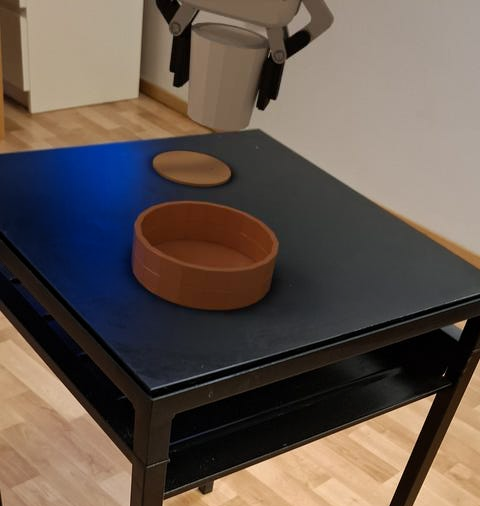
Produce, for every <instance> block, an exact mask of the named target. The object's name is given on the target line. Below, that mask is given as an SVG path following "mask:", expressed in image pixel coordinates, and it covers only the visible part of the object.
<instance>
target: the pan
mask: <svg viewBox="0 0 480 506" xmlns="http://www.w3.org/2000/svg"><path fill="white" fill-rule="evenodd" d="M132 235H133V237H132V251H131V252H132V253H131V260H130V261H131V268H132V273H133V275H134V276H135V278H136V280H137V281H138V282H139V283H140V284H141V285H142V286H143V287H144V288H145V289H147V290H148V291H150V292H151V293H152V294H154V295H156V296H157V297H159V298H161V299H163V300H166V301H167V302H168V301H169V302H171V303H173V304H177V305H179V306H182V307H187V308H192V309H196V310H197V309H198V310H205V311H206V310H207V311H228V310H237V309H241V308H245V307H248V306H251V305H253V304H255V303H257V302H259V301H260V300H262V299H263V298H264V297H265V296H266V295H267V294H268V292H269V291H270V288H271V284H272V279H273V276H274V270H275V264H276V261H277V256H278V252H279V245H280V243H279V240H278V238H277V236H276V234H275V232H274V231H273V230H272V229H271V228H270V227H269V226H267V225H266V224H265V222H264V221H262V220H260V219H258V218H256V217H255V216H253V215H251V214H250V213H248V212H245V211H242V210H240V209H237V208H234V207H231V206H229V205H222V204H218V203H214V202H208V201H199V200H178V201H177V200H176V201H166V202H162V203H159V204H156V205H151V206H150V207H148V208H147V209H145V210H143V211H142V212H140V213H139V215H138V216H137V218H136V220H135V222H134V224H133V234H132Z"/></svg>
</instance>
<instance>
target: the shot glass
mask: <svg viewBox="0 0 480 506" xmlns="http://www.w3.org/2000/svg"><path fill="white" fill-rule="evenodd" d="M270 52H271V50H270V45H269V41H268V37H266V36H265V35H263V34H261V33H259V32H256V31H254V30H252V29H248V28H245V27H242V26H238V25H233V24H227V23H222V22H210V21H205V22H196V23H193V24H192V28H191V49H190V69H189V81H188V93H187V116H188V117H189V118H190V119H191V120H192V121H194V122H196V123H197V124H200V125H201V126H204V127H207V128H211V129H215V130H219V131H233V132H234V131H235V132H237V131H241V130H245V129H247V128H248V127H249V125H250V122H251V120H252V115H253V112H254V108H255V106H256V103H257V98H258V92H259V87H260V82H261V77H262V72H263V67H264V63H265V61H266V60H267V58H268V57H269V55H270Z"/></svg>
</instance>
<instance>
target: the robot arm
mask: <svg viewBox="0 0 480 506" xmlns="http://www.w3.org/2000/svg"><path fill="white" fill-rule="evenodd" d="M302 4H303V6H304V7H305V9H306V10H307V12H308V14H309V15H310V21H309V22H308V23H307V24H306V25H304V26H303V27H302V28H300V29H299V30H298V31H296V32H294V33H293V34H291V36H290V30H289V26H288V25H289V24H290V23H292V21H293V20H294V18H295V17H296V16H297V15H298V13H299V11H300V9H301V5H302ZM155 5H156V7H157V9H158V11H159V12H160V14H161V16H162V17H163V19H164V20H165V22H166V24H167V25H168V31H169V33H170V34H171V35H172V39H171V40H172V42H171V51H170V59H169V67H168V68H169V69H168V70H169V73H172V74H173V80H172V87H174V88H178V89H180V88H183V86H184V85H186V84H187V83H189V69H190V49H191V28H192V25H194V22H195V21H196V19H197V18H198V16H199V14H200V13H201V12H206V13H208V14H213V15H215V16H220V17H224V18H228V19H231V20H235V21H239V22H244V23H247V24H251V25H254V26H259V27H262V28H265V31H266V36H267V39H268V41H269V45H270V53H269V56H268V58H267V60H266V61H265V63H264V67H263V72H262V77H261V82H260V87H259V91H258V95H257V98H256V102H255V108H256V109H257V110H258V111H261V112H265V110H266V108H267V107H268V105H269V104H270V102H271V101H277V99H278V97H279V93H280V89H281V85H282V84H281V83H282V78H283V74H284V70H285V64H286V61H287V60H289V59H290V58H292V57H293V56H294V55H296V54H297V53H299V52H300V51H302V50H303V49H305V48H306V47H307V46H308V45H309V44H311V43H312V42H313V41H315V40H317V38H318V37H320V36H321V35H322V34H324V33H325V32H326V31H327V30H328V29H331V27H332V25H333V24H334V21H335V17H334V15H333V13H332V11H331V10H330V8H329V6H328V5H327V3H326V1H325V0H155Z"/></svg>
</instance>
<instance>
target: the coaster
mask: <svg viewBox="0 0 480 506" xmlns="http://www.w3.org/2000/svg"><path fill="white" fill-rule="evenodd" d="M152 167H153V169H154V171H155V172H156V173H158V175H160V176H161V177H163V178H165V179H167V180H168V181H171V182H174V183H177V184H180V185H185V186H190V187H201V188H209V187H210V188H211V187H216V186H221V185H225V183H227V182H229V181H230V179H231V177H232V171H231V169H230V167H229V166H228V165H227V164H226V163H225V162H223V161H222V160H220V159H218V158H216V157H214V156H211V155H208V154H205V153H200V152H196V151H189V150H187V151H186V150H172V151H166V152H162V153H159V154H158V155H156V156H155V157H154V158H153V159H152Z"/></svg>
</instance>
